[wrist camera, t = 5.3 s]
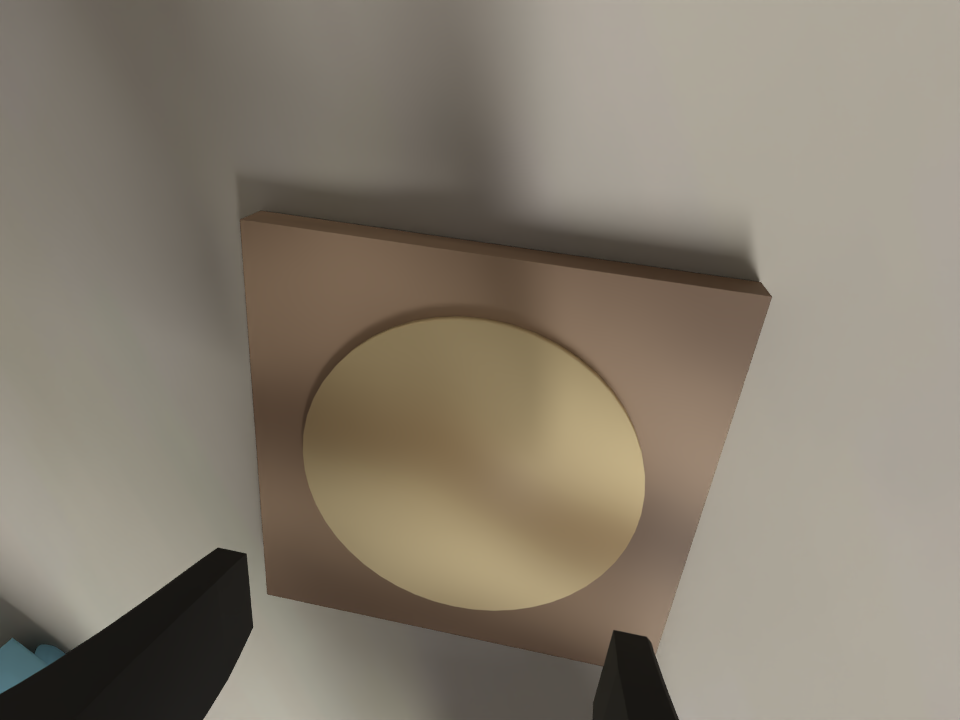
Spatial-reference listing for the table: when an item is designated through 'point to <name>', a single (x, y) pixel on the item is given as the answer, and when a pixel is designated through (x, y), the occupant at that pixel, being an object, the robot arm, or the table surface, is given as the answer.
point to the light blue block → (23, 662)
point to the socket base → (485, 428)
